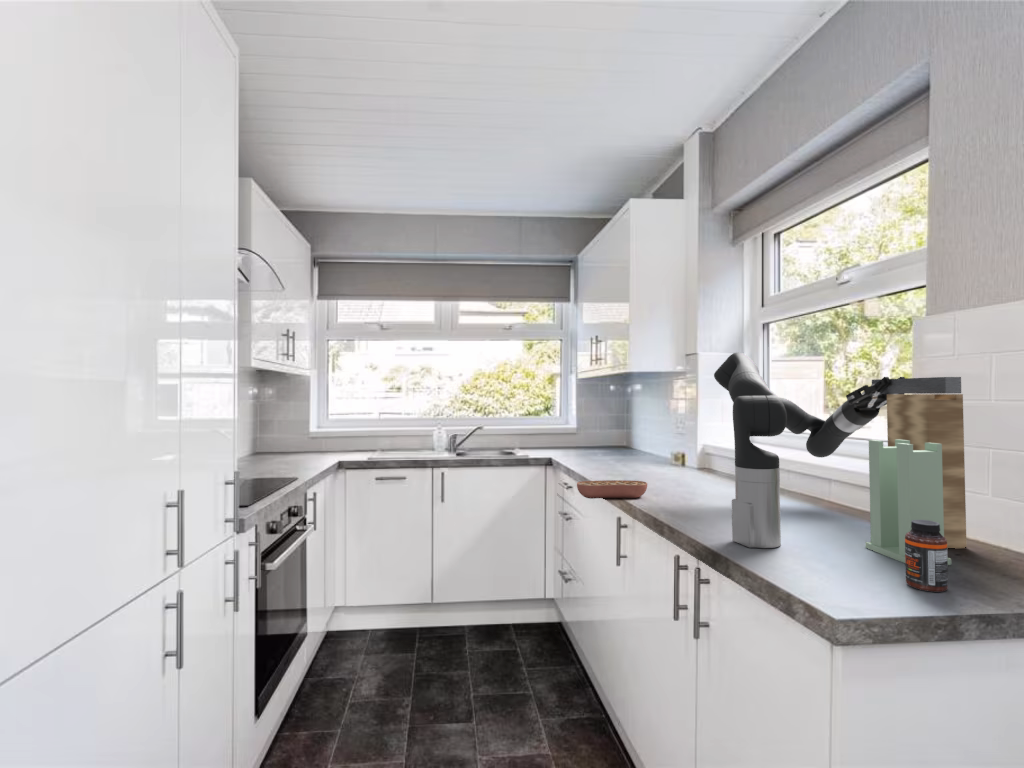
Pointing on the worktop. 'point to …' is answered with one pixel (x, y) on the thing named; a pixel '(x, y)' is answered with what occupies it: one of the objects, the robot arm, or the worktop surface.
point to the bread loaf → (612, 489)
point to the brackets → (903, 493)
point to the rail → (923, 385)
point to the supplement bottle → (926, 557)
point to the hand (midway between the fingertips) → (896, 380)
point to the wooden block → (943, 425)
